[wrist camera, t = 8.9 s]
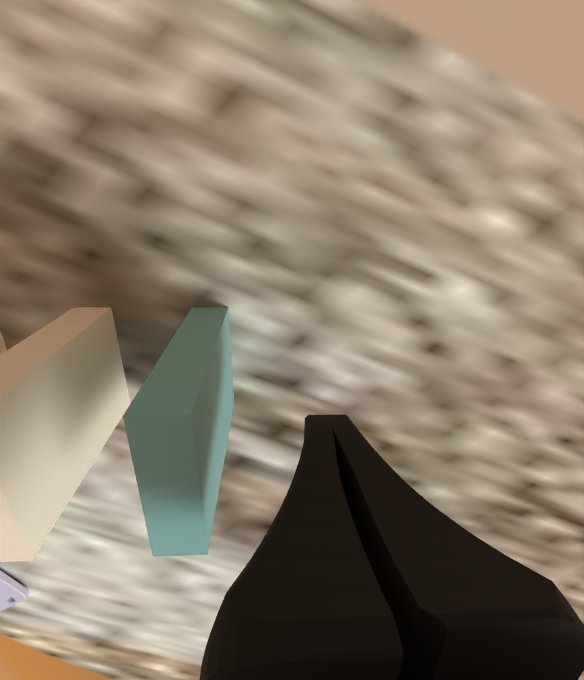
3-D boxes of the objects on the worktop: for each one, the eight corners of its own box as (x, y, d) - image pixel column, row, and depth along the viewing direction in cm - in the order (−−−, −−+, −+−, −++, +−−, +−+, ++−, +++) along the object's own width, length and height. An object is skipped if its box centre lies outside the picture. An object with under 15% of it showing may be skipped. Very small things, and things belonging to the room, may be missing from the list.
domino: (96, 404, 18) (-27, 562, 10) (73, 307, 16) (-101, 419, 8) (130, 403, 18) (31, 560, 10) (111, 307, 16) (-28, 419, 8)
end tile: (201, 402, 18) (152, 556, 11) (191, 307, 16) (122, 416, 9) (234, 402, 18) (207, 554, 11) (228, 307, 16) (190, 414, 9)
